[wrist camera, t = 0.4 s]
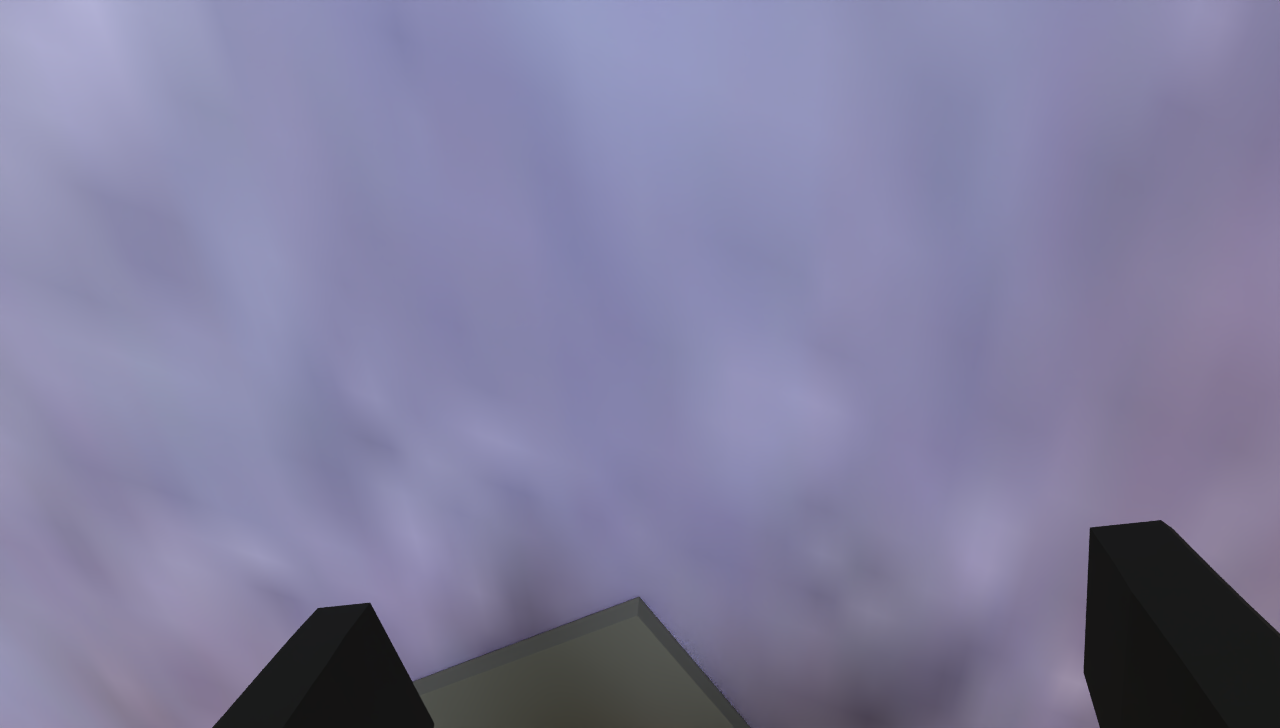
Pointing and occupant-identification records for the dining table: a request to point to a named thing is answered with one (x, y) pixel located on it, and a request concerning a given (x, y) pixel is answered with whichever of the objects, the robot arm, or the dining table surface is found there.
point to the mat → (582, 680)
